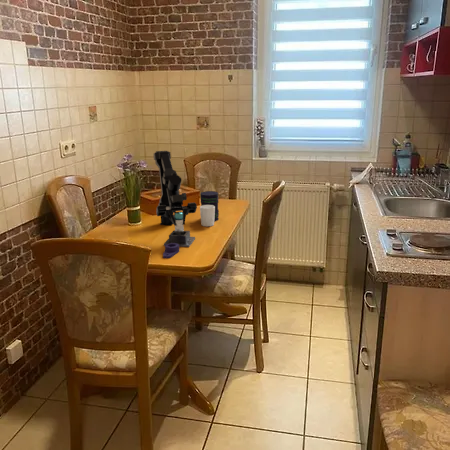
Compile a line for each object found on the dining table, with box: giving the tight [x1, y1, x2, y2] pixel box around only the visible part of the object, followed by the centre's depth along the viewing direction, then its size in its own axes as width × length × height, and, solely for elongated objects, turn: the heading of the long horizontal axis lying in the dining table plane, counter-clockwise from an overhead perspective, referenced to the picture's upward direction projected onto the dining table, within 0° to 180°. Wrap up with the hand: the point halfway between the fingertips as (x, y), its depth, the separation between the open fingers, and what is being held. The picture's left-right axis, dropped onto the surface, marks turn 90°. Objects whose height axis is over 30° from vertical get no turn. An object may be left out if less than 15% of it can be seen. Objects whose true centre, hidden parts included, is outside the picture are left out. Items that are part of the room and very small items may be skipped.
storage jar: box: [200, 190, 220, 223], centre depth 252 cm, size 10×10×15 cm
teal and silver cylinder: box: [173, 211, 185, 235], centre depth 215 cm, size 4×4×12 cm
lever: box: [162, 243, 180, 259], centre depth 202 cm, size 12×6×3 cm, turn 169°
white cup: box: [199, 205, 215, 227], centre depth 243 cm, size 8×8×10 cm
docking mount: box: [163, 229, 196, 248], centre depth 217 cm, size 12×12×4 cm
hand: (179, 224), depth 213 cm, fingers closed on teal and silver cylinder, 4 cm apart
